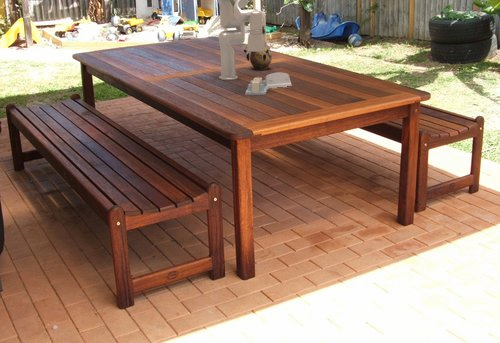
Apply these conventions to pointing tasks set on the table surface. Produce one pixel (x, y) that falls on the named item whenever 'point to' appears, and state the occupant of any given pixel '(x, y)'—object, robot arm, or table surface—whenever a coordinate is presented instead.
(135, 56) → the table surface
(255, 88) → the clay bar
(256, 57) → the ceramic jug
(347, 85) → the table surface
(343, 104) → the table surface
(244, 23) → the robot arm
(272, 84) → the white router
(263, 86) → the rack
